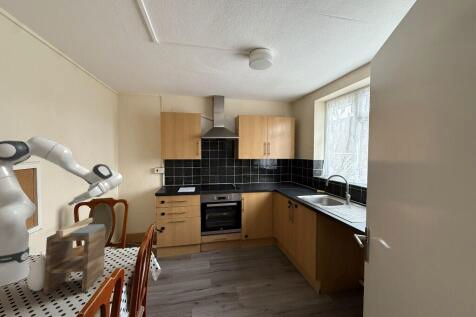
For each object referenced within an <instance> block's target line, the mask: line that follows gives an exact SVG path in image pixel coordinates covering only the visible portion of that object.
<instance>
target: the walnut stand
mask: <svg viewBox="0 0 476 317" xmlns="http://www.w3.org/2000/svg"><path fill="white" fill-rule="evenodd" d="M81 228H82V227H81ZM106 228H107V227H106V226H104V227H103V228H102V229H100V230H98V231H96V232H95V233H93V234H91V235H89V236H70V233H69V234H66V235H64V236H56V233H54V234H51V235H49V236H47V237H46V244H45V274H44V288H43V292H42V293H43V294H42V295H43V296H47V295H49V294H51V293H52V292H53V291H54V290H55V289H57V288H58V287H59V286H61V285H62V284H63V283H65V282H66V281H67V280H68V279H70V278H71V277H72V273H79V272H81V273H82V277H81V280H82V281H81V293H87V292H88V291H89V290H90V287H91V286H92V285H93V284H94V283H95V282H96V281H97V282H98V281H99V280H100V279H101V278H102V275H103V276H104V271H105V270H104V268H105V267H104V266H105V250H106V247H105V246H106ZM79 229H80V228H79ZM77 230H78V229H77ZM75 231H76V230H75ZM73 232H74V231H73ZM71 233H72V232H71ZM78 241H79V242H80V241H81V242H83V245H84V256H72V250H73V248H74V247H73V245H74V242H78ZM99 278H100V279H99ZM97 282H96V283H97ZM96 283H95V284H96ZM95 284H94V285H95ZM94 285H93V286H94ZM93 286H92V287H93ZM92 287H91V288H92Z"/></svg>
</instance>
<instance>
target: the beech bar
mask: <svg viewBox="0 0 476 317" xmlns="http://www.w3.org/2000/svg"><path fill="white" fill-rule="evenodd" d="M93 219H94V218H93V217H86V218H84V219H80V221H77V222H75V223H72V224H69V225H66V226H65V227H62V228H60V229H58V230H56V231H55V234H56V236H64V235H66V234H69V233H71V232H73V231H75V230H77V229H79V228H81V227H84V226H87V225H91V224H92V223H93Z"/></svg>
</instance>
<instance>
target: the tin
mask: <svg viewBox="0 0 476 317" xmlns="http://www.w3.org/2000/svg"><path fill="white" fill-rule="evenodd" d="M72 256H84V244H83V245H79V246H75V247H73V250H72Z"/></svg>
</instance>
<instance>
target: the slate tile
mask: <svg viewBox="0 0 476 317" xmlns="http://www.w3.org/2000/svg"><path fill="white" fill-rule="evenodd" d="M103 227H105V224H104V223H101V224H94V223H93V224H92V223H90V224H88V225H85V226H83V227H82V228H80V229H78V230H76V231H74V232H72V233H70V236H89V235H91V234H93V233H95V232H96V231H98V230H100V229H102V228H103Z"/></svg>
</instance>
